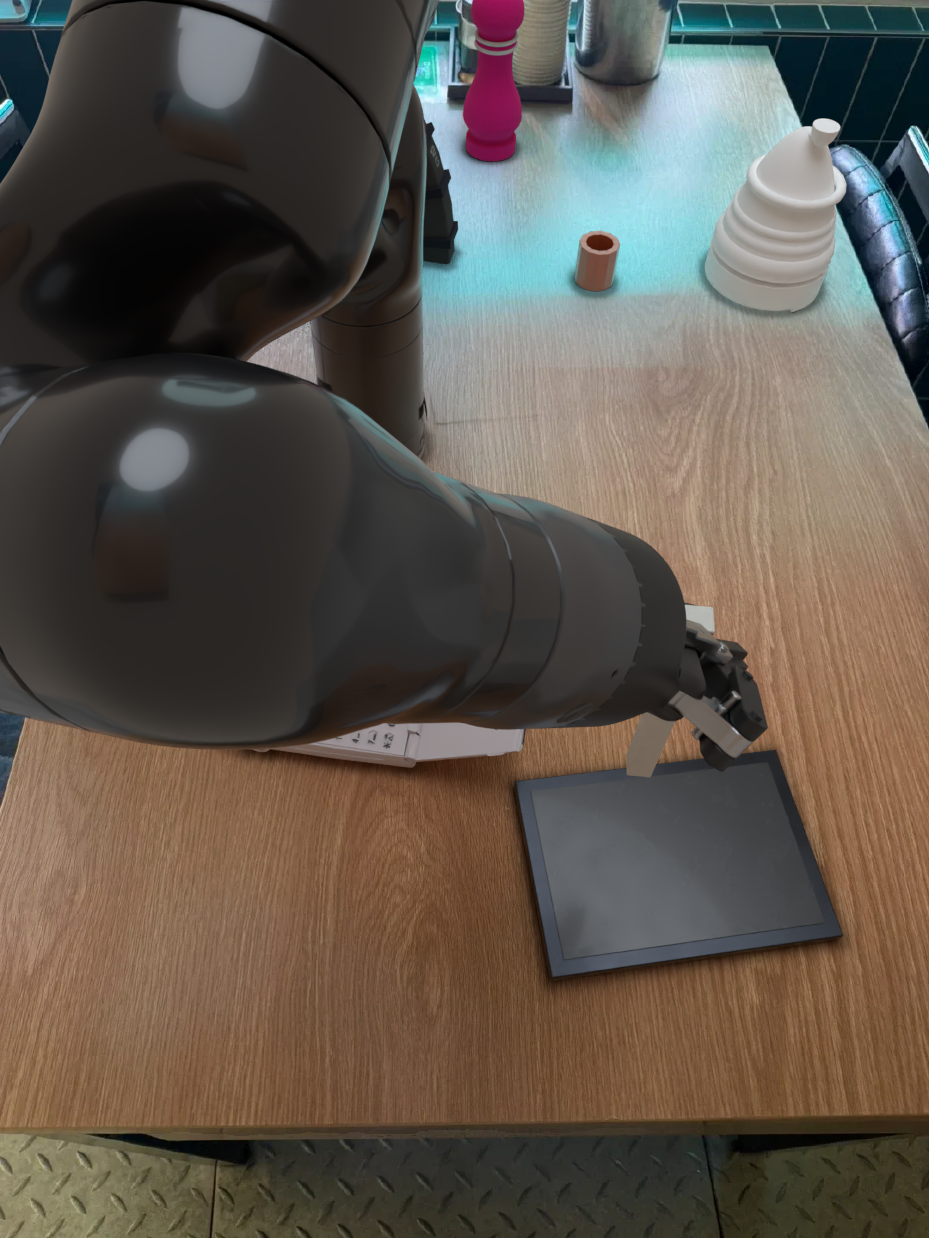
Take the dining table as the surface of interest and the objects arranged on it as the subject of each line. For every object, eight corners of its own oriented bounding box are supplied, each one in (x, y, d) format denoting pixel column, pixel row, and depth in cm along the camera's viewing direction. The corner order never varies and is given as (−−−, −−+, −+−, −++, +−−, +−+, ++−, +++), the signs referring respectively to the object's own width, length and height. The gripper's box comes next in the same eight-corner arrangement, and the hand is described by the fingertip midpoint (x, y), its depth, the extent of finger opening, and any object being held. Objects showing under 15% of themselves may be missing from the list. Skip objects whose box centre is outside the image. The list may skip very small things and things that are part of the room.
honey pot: (842, 299, 104) (911, 138, 89) (741, 325, 101) (795, 162, 86) (779, 233, 110) (833, 73, 96) (682, 255, 107) (722, 93, 93)
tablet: (550, 981, 62) (551, 977, 61) (513, 786, 70) (514, 780, 69) (838, 940, 64) (844, 935, 63) (772, 754, 72) (776, 748, 71)
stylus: (626, 753, 55) (682, 603, 43) (650, 756, 55) (713, 606, 43) (626, 775, 54) (683, 629, 42) (650, 778, 54) (715, 632, 42)
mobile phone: (523, 754, 65) (168, 704, 66) (516, 791, 70) (185, 744, 71) (531, 680, 68) (194, 634, 70) (524, 720, 73) (209, 677, 74)
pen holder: (578, 296, 103) (584, 255, 99) (570, 272, 105) (576, 232, 101) (616, 293, 103) (623, 253, 99) (607, 270, 106) (614, 229, 101)
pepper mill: (454, 137, 120) (458, -42, 104) (508, 130, 122) (520, -49, 105) (471, 168, 116) (478, -14, 100) (527, 159, 118) (542, -21, 101)
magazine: (477, 261, 103) (417, 129, 92) (374, 288, 109) (307, 167, 98) (484, 241, 105) (427, 110, 95) (383, 268, 111) (318, 148, 101)
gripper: (758, 685, 28) (876, 693, 42) (483, 409, 34) (668, 498, 48) (592, 850, 30) (757, 804, 44) (365, 565, 36) (574, 606, 51)
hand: (710, 645), depth 46 cm, fingers closed on stylus
